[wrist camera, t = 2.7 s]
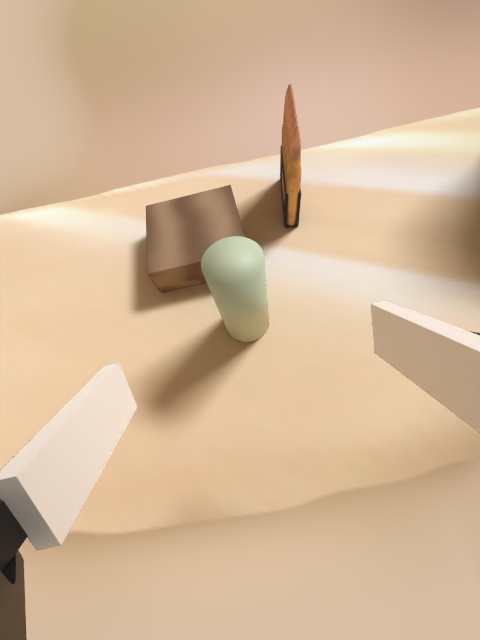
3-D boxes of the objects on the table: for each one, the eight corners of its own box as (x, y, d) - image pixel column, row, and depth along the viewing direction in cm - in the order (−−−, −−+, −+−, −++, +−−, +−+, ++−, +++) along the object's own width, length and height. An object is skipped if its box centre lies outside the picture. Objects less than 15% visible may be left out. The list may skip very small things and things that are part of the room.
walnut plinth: (234, 209, 38) (230, 184, 35) (251, 271, 33) (248, 249, 29) (157, 228, 39) (145, 206, 35) (161, 292, 33) (147, 274, 30)
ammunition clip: (298, 227, 35) (307, 131, 25) (284, 228, 35) (287, 133, 25) (292, 177, 40) (297, 79, 29) (280, 178, 40) (281, 81, 30)
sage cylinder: (263, 299, 31) (256, 230, 21) (273, 336, 28) (271, 278, 19) (222, 308, 31) (197, 244, 21) (229, 346, 28) (205, 293, 19)
